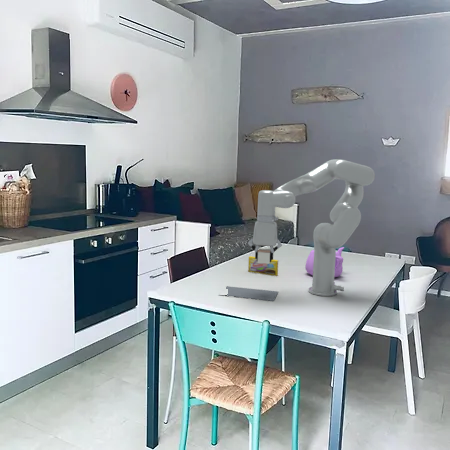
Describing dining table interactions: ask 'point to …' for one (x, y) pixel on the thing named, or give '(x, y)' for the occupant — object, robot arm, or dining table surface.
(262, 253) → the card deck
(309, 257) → the teapot
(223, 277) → the dining table surface
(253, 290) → the mat
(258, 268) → the candy box
